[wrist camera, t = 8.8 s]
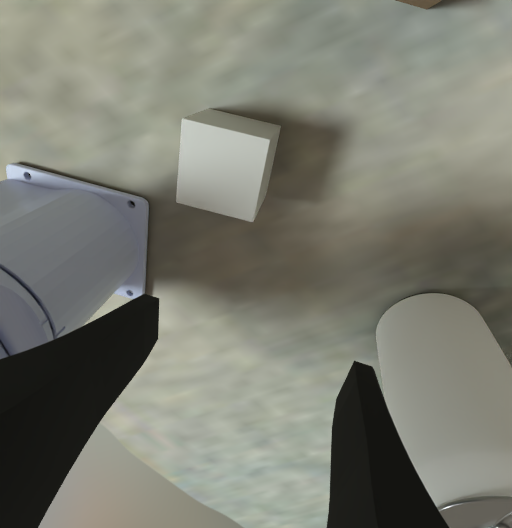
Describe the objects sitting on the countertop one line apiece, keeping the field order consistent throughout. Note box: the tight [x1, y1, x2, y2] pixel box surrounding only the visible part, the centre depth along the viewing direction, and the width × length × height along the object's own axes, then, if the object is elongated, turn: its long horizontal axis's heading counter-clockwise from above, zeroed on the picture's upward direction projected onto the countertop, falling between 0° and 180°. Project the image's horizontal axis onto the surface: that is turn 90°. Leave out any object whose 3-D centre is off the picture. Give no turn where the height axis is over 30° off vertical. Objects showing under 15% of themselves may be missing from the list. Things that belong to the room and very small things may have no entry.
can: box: [376, 293, 512, 528], centre depth 18 cm, size 6×6×12 cm
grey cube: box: [176, 109, 281, 222], centre depth 18 cm, size 4×4×4 cm
